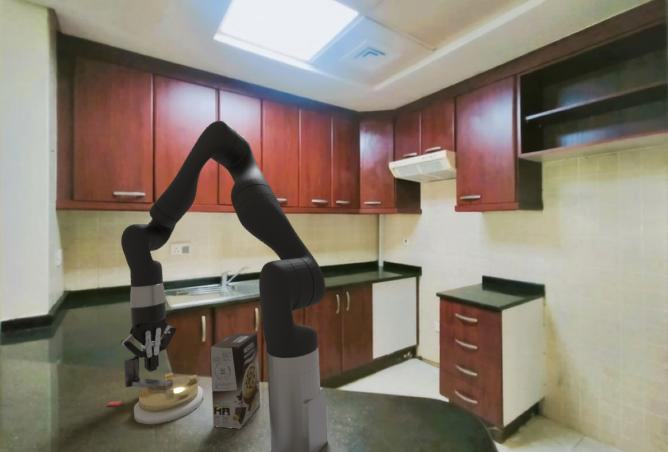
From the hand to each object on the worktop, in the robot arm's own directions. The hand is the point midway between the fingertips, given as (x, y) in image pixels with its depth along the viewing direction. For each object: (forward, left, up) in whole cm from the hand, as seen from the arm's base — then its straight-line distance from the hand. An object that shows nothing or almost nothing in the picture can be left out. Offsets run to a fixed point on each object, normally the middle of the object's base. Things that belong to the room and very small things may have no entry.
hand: (151, 370), depth 79 cm
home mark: (+2, +8, -5) cm, 10 cm away
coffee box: (-29, 0, -6) cm, 29 cm away
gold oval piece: (-8, +3, -3) cm, 9 cm away
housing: (-11, +3, -5) cm, 12 cm away
